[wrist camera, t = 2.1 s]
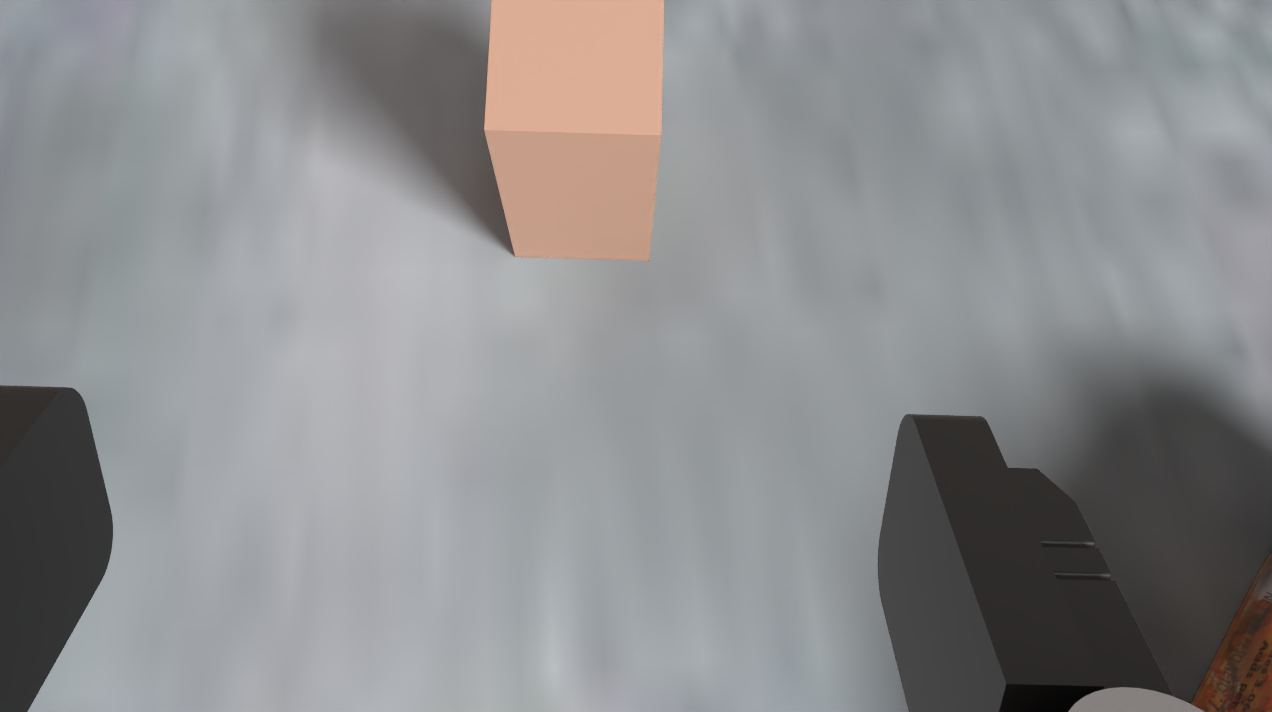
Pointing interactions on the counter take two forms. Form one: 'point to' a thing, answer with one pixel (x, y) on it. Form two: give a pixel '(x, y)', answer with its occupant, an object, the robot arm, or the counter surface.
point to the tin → (1243, 656)
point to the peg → (576, 124)
